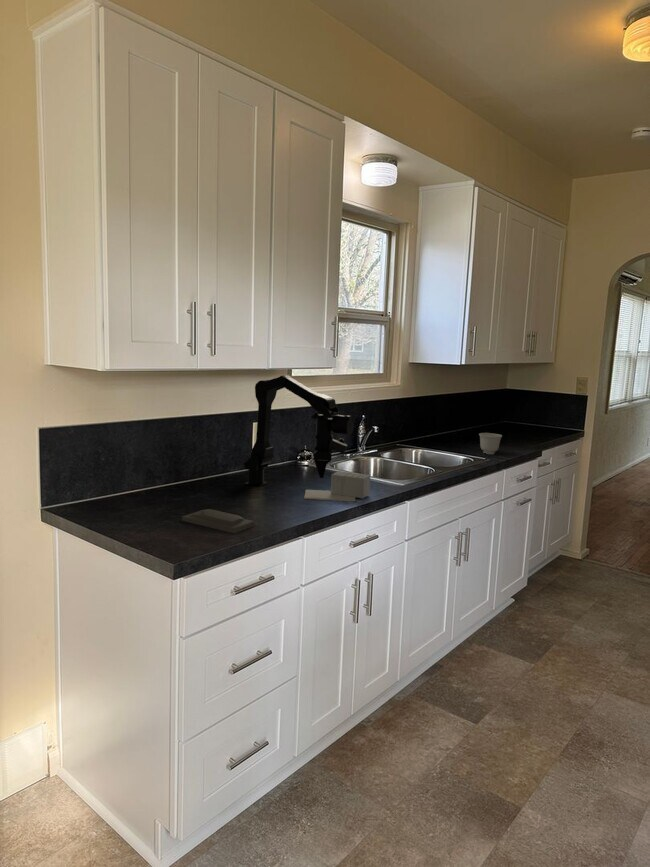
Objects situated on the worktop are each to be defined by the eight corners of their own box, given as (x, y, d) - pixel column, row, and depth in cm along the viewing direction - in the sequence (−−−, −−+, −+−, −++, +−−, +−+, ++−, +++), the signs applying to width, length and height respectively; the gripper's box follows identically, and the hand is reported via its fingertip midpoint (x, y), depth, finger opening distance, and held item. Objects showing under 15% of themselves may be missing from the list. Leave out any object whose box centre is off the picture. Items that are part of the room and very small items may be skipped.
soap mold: (204, 515, 206) (204, 504, 205) (255, 527, 196) (255, 516, 195) (181, 522, 197) (181, 511, 196) (233, 535, 187) (233, 524, 186)
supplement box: (337, 489, 243) (369, 494, 239) (330, 493, 237) (363, 499, 232) (338, 470, 242) (370, 474, 238) (331, 473, 235) (364, 478, 231)
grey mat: (304, 498, 230) (304, 497, 229) (305, 490, 241) (305, 489, 241) (355, 501, 229) (355, 500, 229) (354, 493, 241) (354, 492, 241)
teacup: (494, 450, 351) (496, 432, 350) (503, 456, 337) (505, 436, 335) (472, 450, 351) (474, 431, 349) (481, 455, 336) (482, 435, 334)
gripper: (347, 437, 223) (344, 482, 225) (346, 429, 241) (344, 471, 243) (314, 435, 223) (312, 480, 225) (316, 428, 241) (314, 469, 244)
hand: (321, 475), depth 234 cm, fingers open, 8 cm apart
